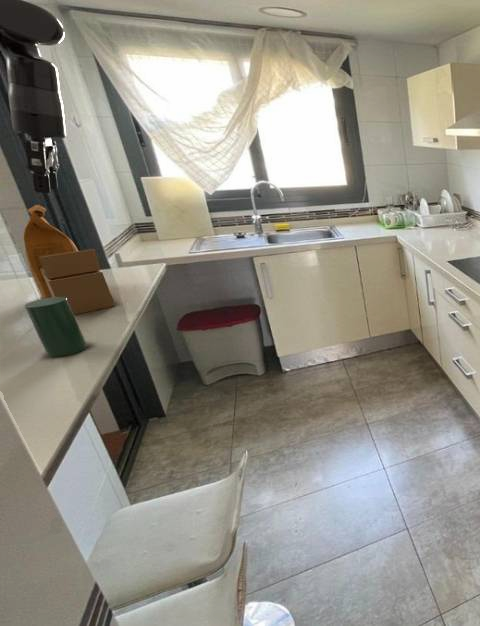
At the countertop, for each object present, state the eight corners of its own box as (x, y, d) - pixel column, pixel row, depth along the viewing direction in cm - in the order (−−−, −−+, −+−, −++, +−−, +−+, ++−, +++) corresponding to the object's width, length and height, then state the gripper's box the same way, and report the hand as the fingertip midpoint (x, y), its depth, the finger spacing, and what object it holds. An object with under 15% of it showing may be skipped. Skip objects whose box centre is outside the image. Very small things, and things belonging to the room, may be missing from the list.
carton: (115, 305, 110) (101, 269, 106) (64, 316, 103) (47, 278, 100) (104, 295, 116) (90, 260, 113) (55, 305, 110) (39, 268, 107)
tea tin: (46, 360, 84) (22, 309, 80) (49, 350, 88) (26, 301, 84) (86, 351, 87) (65, 302, 83) (87, 342, 91) (67, 294, 87)
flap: (100, 269, 106) (101, 269, 106) (47, 278, 100) (47, 278, 100) (94, 248, 103) (94, 249, 103) (38, 256, 96) (39, 257, 96)
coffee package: (98, 284, 125) (65, 202, 116) (96, 295, 116) (60, 208, 108) (45, 292, 119) (7, 206, 110) (39, 304, 110) (-3, 212, 102)
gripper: (18, 108, 98) (28, 185, 102) (0, 105, 88) (12, 191, 92) (69, 116, 103) (76, 190, 107) (57, 114, 92) (66, 196, 96)
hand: (46, 190), depth 99 cm, fingers open, 8 cm apart
